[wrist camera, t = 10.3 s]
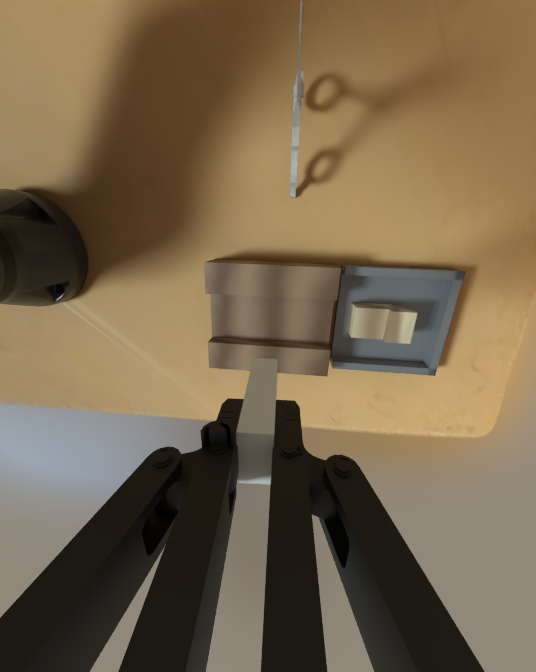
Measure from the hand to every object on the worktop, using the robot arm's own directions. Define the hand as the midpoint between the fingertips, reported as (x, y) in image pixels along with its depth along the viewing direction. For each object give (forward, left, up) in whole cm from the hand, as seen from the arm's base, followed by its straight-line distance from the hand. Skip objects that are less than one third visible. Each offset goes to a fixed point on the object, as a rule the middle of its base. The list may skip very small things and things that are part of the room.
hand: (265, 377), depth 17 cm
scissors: (+1, +18, -22) cm, 29 cm away
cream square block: (+12, -1, -21) cm, 24 cm away
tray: (+15, -2, -22) cm, 26 cm away
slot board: (-1, -2, -22) cm, 22 cm away
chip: (+14, -1, -19) cm, 23 cm away
